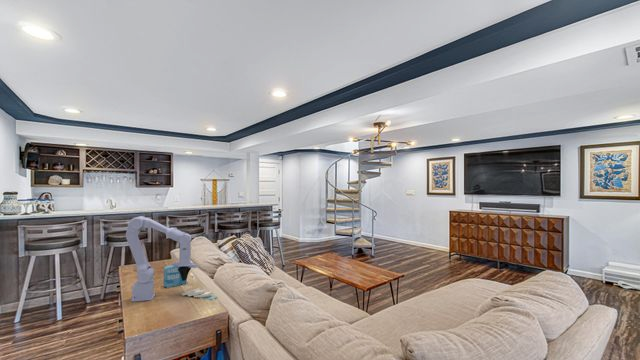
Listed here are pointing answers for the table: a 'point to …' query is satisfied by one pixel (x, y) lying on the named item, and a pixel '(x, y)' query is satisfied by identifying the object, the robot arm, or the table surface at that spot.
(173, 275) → the data package
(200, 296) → the domino
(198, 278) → the table surface
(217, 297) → the teal domino
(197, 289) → the domino
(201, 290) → the domino
